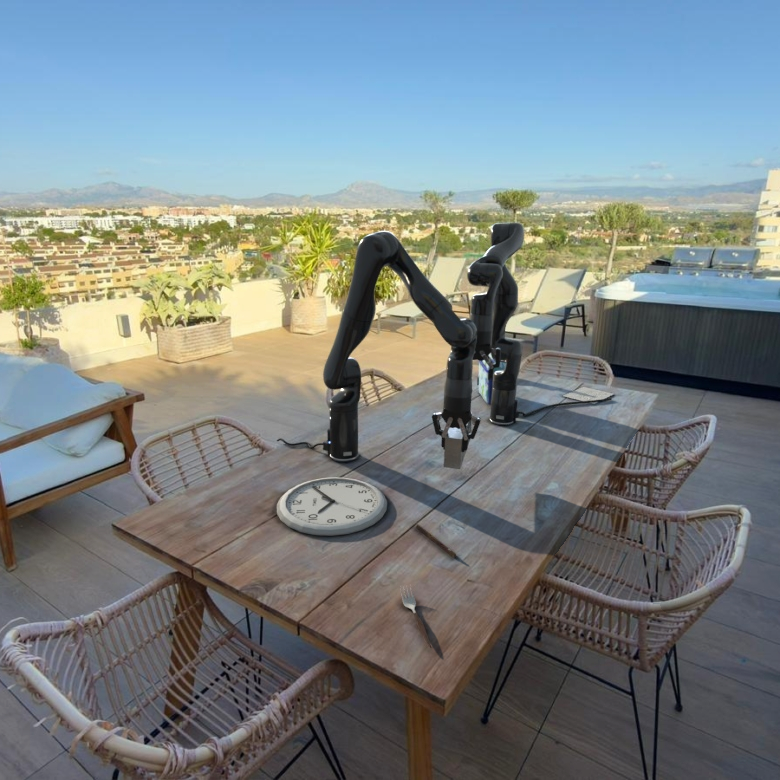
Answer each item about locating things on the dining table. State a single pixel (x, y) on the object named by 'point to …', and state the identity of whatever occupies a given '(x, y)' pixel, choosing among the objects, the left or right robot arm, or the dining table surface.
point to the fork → (411, 605)
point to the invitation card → (588, 394)
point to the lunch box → (483, 381)
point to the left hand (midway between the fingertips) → (454, 449)
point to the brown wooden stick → (436, 541)
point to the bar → (455, 447)
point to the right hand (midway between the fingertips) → (475, 378)
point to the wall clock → (331, 506)
